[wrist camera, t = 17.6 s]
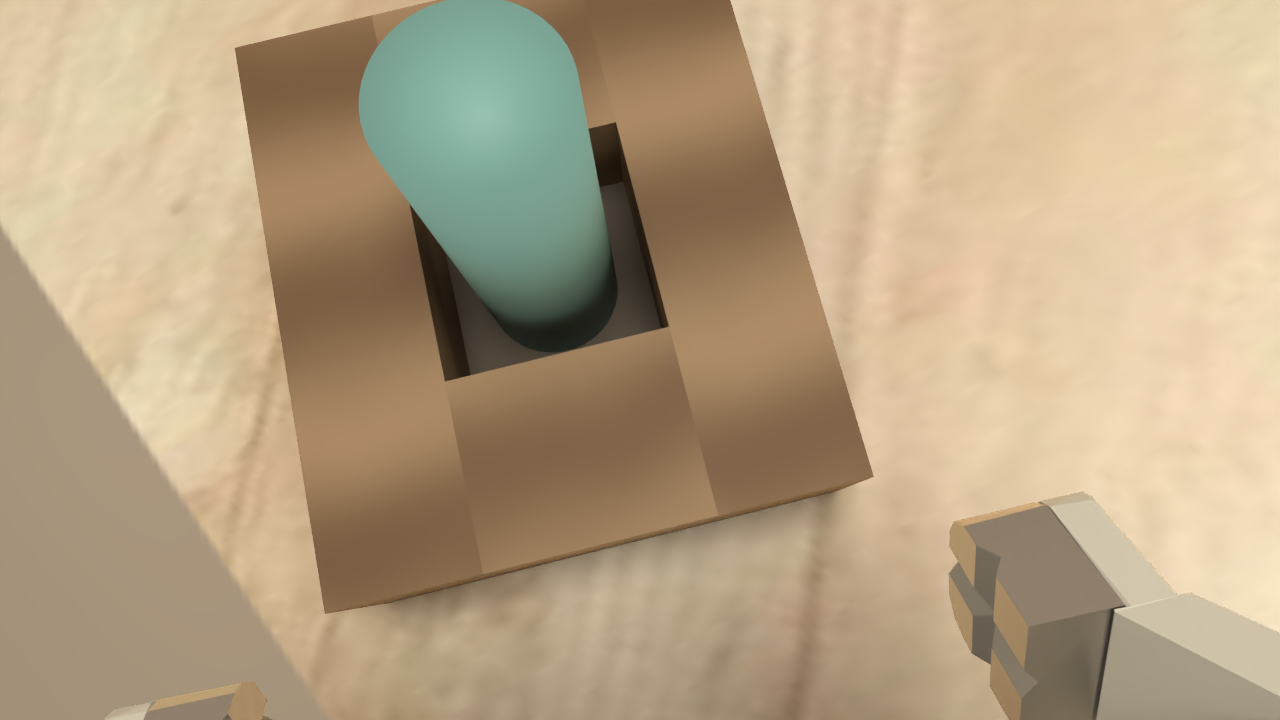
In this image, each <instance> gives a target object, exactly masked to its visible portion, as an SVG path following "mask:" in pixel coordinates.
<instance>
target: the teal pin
mask: <svg viewBox="0 0 1280 720" xmlns="http://www.w3.org/2000/svg"><path fill="white" fill-rule="evenodd" d="M359 116H360V123H361V126H362V130H363V134H364V136H365V139H366V141H367V143H368V146H369V148H370V149H371V151H372V152H373V154H374V156H375V157H376V159H377V160H378V161H379V163H380V164H381V166H382V167H383V168H384V170H385V171H386V172H387V174H388V175H389V176H390V178H391V179H392V180H393V182H394V183H395V184H396V186H397V187H398V189H399V190H400V191H401V193H402V194H403V195H404V197H405V198H406V199H407V201H408V202H409V203H410V205H411V206H412V207H413V209H414V210H415V212H416V213H417V214H418V216H419V217H420V218H421V220H422V221H423V222H424V224H425V225H426V226H427V228H428V229H429V231H430V232H431V233H432V235H433V236H434V237H435V239H436V240H437V241H438V243H439V244H440V245H441V247H442V248H443V249H444V251H445V252H446V254H447V255H448V256H449V258H450V259H451V260H452V262H453V263H454V264H455V266H456V267H457V268H458V270H459V271H460V272H461V274H462V275H463V277H464V278H465V279H466V281H467V282H468V283H469V285H470V286H471V287H472V289H473V290H474V291H475V293H476V294H477V295H478V297H479V298H480V300H481V301H482V302H483V304H484V305H485V306H486V308H487V309H488V310H489V312H490V313H491V314H492V316H493V317H494V319H495V320H496V321H497V323H498V324H499V325H500V327H501V328H502V329H503V330H504V331H505V333H506V334H507V335H508V336H509V337H511V338H512V339H513V340H514V341H516V342H517V343H519V344H521V345H523V346H525V347H527V348H529V349H532V350H536V351H540V352H550V353H553V352H563V351H568V350H572V349H575V348H577V347H579V346H582V345H584V344H585V343H587V342H589V341H590V340H592V339H593V338H594V337H595V336H597V335H598V334H599V333H600V332H601V330H602V329H603V328H604V327H605V326H606V324H607V323H608V321H609V319H610V318H611V316H612V314H613V311H614V308H615V305H616V301H617V294H618V283H617V277H616V272H615V266H614V261H613V256H612V251H611V245H610V240H609V235H608V230H607V224H606V219H605V214H604V209H603V203H602V198H601V193H600V188H599V182H598V177H597V172H596V167H595V161H594V156H593V151H592V146H591V140H590V135H589V130H588V124H587V119H586V114H585V109H584V103H583V98H582V93H581V88H580V82H579V77H578V72H577V68H576V65H575V62H574V59H573V56H572V54H571V52H570V50H569V48H568V46H567V45H566V43H565V42H564V40H563V39H562V38H561V36H560V35H559V34H558V33H557V31H556V30H555V29H554V28H553V27H552V26H551V25H550V24H549V23H547V22H546V21H545V20H544V19H543V18H541V17H540V16H538V15H537V14H535V13H534V12H532V11H530V10H529V9H526V8H524V7H522V6H520V5H518V4H515V3H512V2H508V1H505V0H446V1H443V2H439V3H436V4H433V5H431V6H428V7H426V8H424V9H421V10H419V11H418V12H416V13H414V14H412V15H411V16H409V17H408V18H406V19H405V20H404V21H402V22H401V23H400V24H398V25H397V26H396V27H395V28H394V29H393V30H392V31H391V32H390V33H388V34H387V36H386V37H385V38H384V39H383V40H382V42H381V43H380V44H379V45H378V47H377V48H376V50H375V51H374V53H373V55H372V56H371V58H370V60H369V62H368V64H367V67H366V69H365V72H364V75H363V78H362V81H361V86H360V92H359Z"/></svg>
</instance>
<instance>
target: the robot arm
mask: <svg viewBox="0 0 1280 720" xmlns="http://www.w3.org/2000/svg"><path fill="white" fill-rule="evenodd" d="M949 546H950V548H951V550H952V552H953V553H954V555H955V557H956V558H957V560H958V563H957V564H956V565H955V567H954V568H953V569H952V570H951V572H950V573H949V594H950V599H951V603H952V607H953V612H954V616H955V619H956V621H957V624H958V626H959V629H960V631H961V634H962V636H963V638H964V640H965V641H966V643H967V645H968V647H969V649H970V651H971V653H972V654H974V655H975V656H977V657H979V658H981V659H982V660H984V661H986V662H987V663H989V664H991V672H990V687H991V689H992V691H993V693H994V694H995V696H996V698H997V700H998V701H999V703H1000V705H1001V707H1002V709H1003V710H1004V712H1005V714H1006V716H1007V717H1008V719H1009V720H1280V633H1279V632H1276V631H1274V630H1272V629H1270V628H1268V627H1266V626H1263V625H1261V624H1259V623H1257V622H1255V621H1252V620H1250V619H1248V618H1246V617H1244V616H1241V615H1239V614H1237V613H1235V612H1233V611H1230V610H1228V609H1226V608H1224V607H1222V606H1219V605H1217V604H1215V603H1213V602H1211V601H1208V600H1206V599H1204V598H1202V597H1200V596H1198V595H1195V594H1193V593H1187V594H1181V595H1177V594H1176V593H1175V592H1174V590H1173V589H1172V588H1171V587H1170V586H1169V585H1168V584H1167V582H1166V581H1165V580H1164V579H1163V578H1162V577H1161V576H1160V574H1159V573H1158V572H1157V571H1156V570H1155V569H1154V567H1153V566H1152V565H1151V564H1150V563H1149V562H1148V561H1147V559H1146V558H1145V557H1144V556H1143V555H1142V554H1141V552H1140V551H1139V550H1138V549H1137V548H1136V547H1135V546H1134V544H1133V543H1132V542H1131V541H1130V540H1129V539H1128V537H1127V536H1126V535H1125V534H1124V533H1123V532H1122V531H1121V529H1120V528H1119V527H1118V526H1117V525H1116V524H1115V523H1114V521H1113V520H1112V519H1111V518H1110V517H1109V516H1108V514H1107V513H1106V512H1105V511H1104V510H1103V509H1102V508H1101V506H1100V505H1099V504H1098V503H1097V502H1096V501H1095V499H1094V498H1093V497H1092V496H1090V495H1088V494H1086V493H1084V492H1079V493H1074V494H1070V495H1066V496H1062V497H1057V498H1053V499H1049V500H1044V501H1040V502H1038V503H1030V504H1026V505H1022V506H1017V507H1013V508H1009V509H1005V510H1000V511H996V512H992V513H988V514H984V515H979V516H975V517H971V518H967V519H962V520H958V521H954V522H953V524H952V527H951V529H950V542H949ZM266 702H267V699H266V698H265V696H264V695H263V694H262V692H261V691H260V690H259V688H258V687H257V686H256V684H255V683H254V682H246V683H238V684H233V685H228V686H223V687H218V688H213V689H208V690H203V691H198V692H193V693H188V694H183V695H178V696H173V697H168V698H163V699H159V700H156V701H152V702H147V703H141V704H136V705H131V706H126V707H122V708H116V709H114V710H113V711H112V712H111V713H110V714H109V715H108V716H107V717H106V718H105V719H104V720H272V719H270V718H268V717H265V716H263V714H264V710H265V706H266Z"/></svg>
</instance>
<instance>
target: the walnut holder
mask: <svg viewBox="0 0 1280 720" xmlns="http://www.w3.org/2000/svg"><path fill="white" fill-rule="evenodd" d="M443 1H446V0H436V1H431V2H427V3H423V4H419V5H414V6H410V7H406V8H402V9H397V10H393V11H389V12H385V13H381V14H376V15H372V16H368V17H364V18H359V19H355V20H351V21H347V22H342V23H338V24H334V25H330V26H325V27H321V28H317V29H313V30H309V31H304V32H300V33H296V34H292V35H287V36H283V37H279V38H275V39H270V40H266V41H262V42H258V43H254V44H249V45H245V46H241V47H237V48H235V52H236V58H237V64H238V71H239V77H240V83H241V90H242V96H243V102H244V108H245V115H246V121H247V127H248V133H249V140H250V146H251V152H252V159H253V165H254V171H255V177H256V184H257V190H258V196H259V203H260V209H261V215H262V221H263V228H264V234H265V240H266V246H267V253H268V259H269V265H270V272H271V278H272V284H273V290H274V297H275V303H276V309H277V315H278V322H279V328H280V334H281V341H282V347H283V353H284V359H285V366H286V372H287V378H288V385H289V391H290V397H291V403H292V410H293V416H294V422H295V428H296V435H297V441H298V447H299V454H300V460H301V466H302V472H303V479H304V485H305V491H306V498H307V504H308V510H309V516H310V523H311V529H312V535H313V541H314V548H315V554H316V560H317V567H318V573H319V579H320V585H321V592H322V598H323V604H324V611H325V614H326V613H332V612H338V611H344V610H350V609H356V608H362V607H367V606H373V605H379V604H385V603H390V602H394V601H398V600H402V599H406V598H410V597H414V596H418V595H422V594H426V593H430V592H434V591H438V590H442V589H446V588H450V587H454V586H458V585H462V584H466V583H470V582H474V581H478V580H482V579H486V578H490V577H494V576H498V575H502V574H506V573H510V572H514V571H518V570H522V569H526V568H530V567H534V566H538V565H542V564H546V563H550V562H554V561H558V560H562V559H566V558H570V557H574V556H578V555H582V554H586V553H590V552H594V551H598V550H602V549H606V548H610V547H614V546H618V545H622V544H626V543H630V542H634V541H638V540H642V539H646V538H650V537H654V536H658V535H662V534H666V533H670V532H674V531H678V530H682V529H686V528H690V527H694V526H698V525H702V524H706V523H710V522H714V521H718V520H722V519H726V518H730V517H734V516H738V515H742V514H746V513H750V512H754V511H758V510H762V509H766V508H770V507H774V506H778V505H782V504H786V503H790V502H794V501H798V500H802V499H806V498H810V497H814V496H818V495H822V494H826V493H830V492H834V491H838V490H840V489H843V488H846V487H848V486H851V485H853V484H856V483H858V482H861V481H864V480H866V479H869V478H871V477H874V476H873V473H872V470H871V466H870V463H869V460H868V456H867V453H866V450H865V446H864V443H863V440H862V437H861V433H860V430H859V427H858V423H857V420H856V417H855V413H854V410H853V407H852V403H851V400H850V397H849V393H848V390H847V387H846V383H845V380H844V377H843V373H842V370H841V367H840V363H839V360H838V357H837V354H836V350H835V347H834V344H833V340H832V337H831V334H830V330H829V327H828V324H827V320H826V317H825V314H824V310H823V307H822V304H821V300H820V297H819V294H818V290H817V287H816V284H815V281H814V277H813V274H812V271H811V267H810V264H809V261H808V257H807V254H806V251H805V247H804V244H803V241H802V237H801V234H800V231H799V227H798V224H797V221H796V217H795V214H794V211H793V207H792V204H791V201H790V198H789V194H788V191H787V188H786V184H785V181H784V178H783V174H782V171H781V168H780V164H779V161H778V158H777V154H776V151H775V148H774V144H773V141H772V138H771V134H770V131H769V128H768V124H767V121H766V118H765V115H764V111H763V108H762V105H761V101H760V98H759V95H758V91H757V88H756V85H755V81H754V78H753V75H752V71H751V68H750V65H749V61H748V58H747V55H746V51H745V48H744V45H743V41H742V38H741V35H740V32H739V28H738V25H737V22H736V18H735V15H734V12H733V8H732V5H731V2H730V0H505V1H508V2H512V3H515V4H518V5H520V6H522V7H524V8H526V9H529V10H530V11H532V12H534V13H535V14H537V15H538V16H540V17H541V18H543V19H544V20H545V21H546V22H547V23H549V24H550V25H551V26H552V27H553V28H554V29H555V30H556V31H557V33H558V34H559V35H560V36H561V38H562V39H563V40H564V42H565V43H566V45H567V46H568V48H569V50H570V52H571V54H572V56H573V59H574V62H575V65H576V68H577V72H578V77H579V82H580V88H581V93H582V98H583V103H584V109H585V114H586V119H587V124H588V130H589V135H590V140H591V146H592V151H593V156H594V161H595V167H596V172H597V177H598V182H599V188H600V193H601V198H602V203H603V209H604V214H605V219H606V224H607V230H608V235H609V240H610V245H611V251H612V256H613V261H614V266H615V272H616V277H617V283H618V294H617V301H616V305H615V308H614V311H613V314H612V316H611V318H610V319H609V321H608V323H607V324H606V326H605V327H604V328H603V329H602V330H601V332H600V333H599V334H598V335H597V336H595V337H594V338H593V339H592V340H590V341H589V342H587V343H585V344H584V345H582V346H579V347H577V348H575V349H572V350H568V351H563V352H553V353H550V352H540V351H536V350H532V349H529V348H527V347H525V346H523V345H521V344H519V343H517V342H516V341H514V340H513V339H512V338H511V337H509V336H508V335H507V334H506V333H505V331H504V330H503V329H502V328H501V327H500V325H499V324H498V323H497V321H496V320H495V319H494V317H493V316H492V314H491V313H490V312H489V310H488V309H487V308H486V306H485V305H484V304H483V302H482V301H481V300H480V298H479V297H478V295H477V294H476V293H475V291H474V290H473V289H472V287H471V286H470V285H469V283H468V282H467V281H466V279H465V278H464V277H463V275H462V274H461V272H460V271H459V270H458V268H457V267H456V266H455V264H454V263H453V262H452V260H451V259H450V258H449V256H448V255H447V254H446V252H445V251H444V249H443V248H442V247H441V245H440V244H439V243H438V241H437V240H436V239H435V237H434V236H433V235H432V233H431V232H430V231H429V229H428V228H427V226H426V225H425V224H424V222H423V221H422V220H421V218H420V217H419V216H418V214H417V213H416V212H415V210H414V209H413V207H412V206H411V205H410V203H409V202H408V201H407V199H406V198H405V197H404V195H403V194H402V193H401V191H400V190H399V189H398V187H397V186H396V184H395V183H394V182H393V180H392V179H391V178H390V176H389V175H388V174H387V172H386V171H385V170H384V168H383V167H382V166H381V164H380V163H379V161H378V160H377V159H376V157H375V156H374V154H373V152H372V151H371V149H370V148H369V146H368V143H367V141H366V139H365V136H364V134H363V130H362V126H361V123H360V116H359V92H360V86H361V81H362V78H363V75H364V72H365V69H366V67H367V64H368V62H369V60H370V58H371V56H372V55H373V53H374V51H375V50H376V48H377V47H378V45H379V44H380V43H381V42H382V40H383V39H384V38H385V37H386V36H387V34H388V33H390V32H391V31H392V30H393V29H394V28H395V27H396V26H397V25H398V24H400V23H401V22H402V21H404V20H405V19H406V18H408V17H409V16H411V15H412V14H414V13H416V12H418V11H419V10H421V9H424V8H426V7H428V6H431V5H433V4H436V3H439V2H443Z"/></svg>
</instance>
